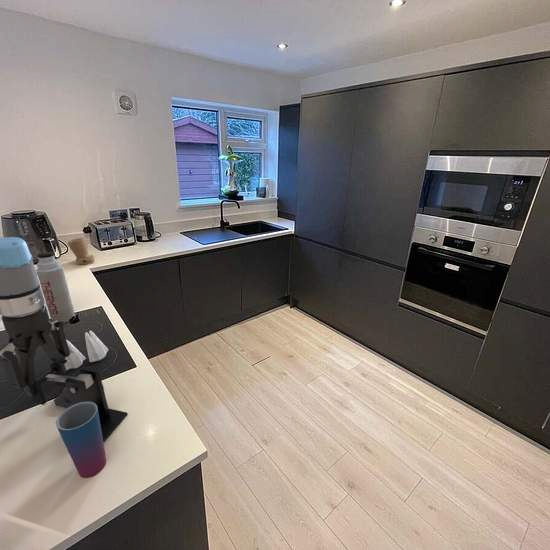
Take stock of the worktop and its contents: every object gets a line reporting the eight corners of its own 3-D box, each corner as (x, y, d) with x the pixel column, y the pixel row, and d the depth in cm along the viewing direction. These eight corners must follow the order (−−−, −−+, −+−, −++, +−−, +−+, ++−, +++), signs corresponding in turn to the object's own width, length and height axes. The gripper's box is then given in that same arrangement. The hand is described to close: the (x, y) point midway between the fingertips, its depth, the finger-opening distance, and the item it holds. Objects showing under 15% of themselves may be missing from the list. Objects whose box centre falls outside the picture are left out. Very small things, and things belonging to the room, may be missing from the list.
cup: (85, 453, 64) (69, 401, 59) (116, 451, 65) (103, 400, 59) (66, 484, 58) (47, 430, 53) (101, 483, 59) (86, 429, 53)
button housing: (55, 406, 76) (51, 394, 75) (80, 385, 84) (77, 374, 82) (80, 412, 75) (77, 400, 73) (104, 390, 82) (101, 379, 80)
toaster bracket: (61, 437, 68) (43, 384, 62) (91, 407, 76) (78, 358, 70) (101, 447, 66) (86, 393, 60) (128, 415, 74) (117, 366, 68)
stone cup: (73, 259, 185) (67, 237, 179) (94, 257, 190) (90, 235, 185) (71, 267, 172) (65, 242, 167) (94, 264, 178) (89, 240, 172)
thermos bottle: (61, 325, 112) (42, 258, 102) (46, 322, 115) (26, 255, 104) (80, 316, 120) (63, 252, 109) (66, 313, 122) (48, 249, 111)
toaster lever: (35, 388, 67) (31, 379, 66) (55, 373, 71) (51, 365, 70) (81, 393, 64) (77, 385, 63) (98, 378, 68) (95, 370, 67)
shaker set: (109, 353, 97) (102, 325, 93) (109, 360, 94) (102, 331, 90) (66, 364, 92) (57, 334, 88) (65, 372, 88) (56, 341, 84)
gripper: (-10, 335, 53) (26, 427, 61) (74, 294, 69) (93, 372, 78) (-41, 329, 54) (-1, 420, 63) (48, 290, 71) (70, 367, 79)
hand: (51, 393), depth 70 cm, fingers closed on toaster lever, 5 cm apart
